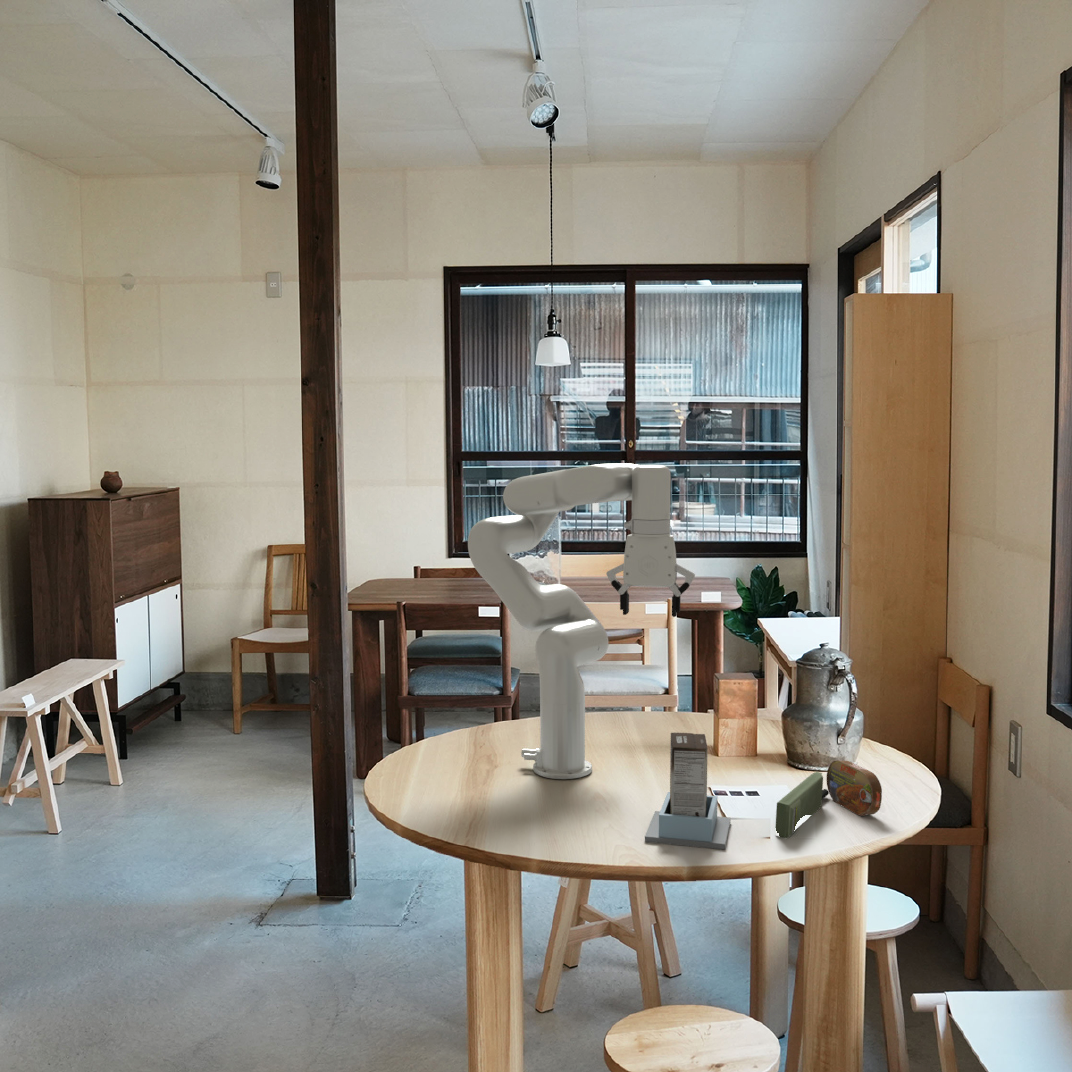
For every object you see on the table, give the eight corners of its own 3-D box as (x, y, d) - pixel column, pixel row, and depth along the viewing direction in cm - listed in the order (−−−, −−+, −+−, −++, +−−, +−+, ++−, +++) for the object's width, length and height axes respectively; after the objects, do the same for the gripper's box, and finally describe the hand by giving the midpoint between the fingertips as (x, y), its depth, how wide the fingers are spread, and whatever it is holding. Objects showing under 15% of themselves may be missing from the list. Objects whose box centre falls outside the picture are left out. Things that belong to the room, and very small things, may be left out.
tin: (824, 796, 208) (825, 754, 207) (838, 794, 209) (839, 753, 208) (869, 822, 194) (871, 778, 193) (884, 820, 195) (885, 776, 194)
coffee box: (669, 816, 194) (670, 731, 192) (704, 818, 193) (705, 732, 192) (670, 835, 185) (671, 746, 183) (706, 836, 184) (708, 747, 183)
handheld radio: (771, 836, 187) (816, 796, 208) (789, 841, 186) (833, 800, 207) (773, 801, 187) (818, 764, 208) (791, 805, 185) (835, 767, 206)
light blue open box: (644, 841, 184) (644, 814, 184) (655, 816, 197) (655, 790, 196) (725, 849, 181) (725, 821, 180) (730, 822, 193) (730, 796, 193)
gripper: (603, 529, 203) (603, 616, 204) (693, 530, 198) (692, 619, 200) (610, 525, 210) (610, 610, 212) (697, 527, 206) (696, 613, 207)
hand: (650, 614), depth 206 cm, fingers open, 9 cm apart
